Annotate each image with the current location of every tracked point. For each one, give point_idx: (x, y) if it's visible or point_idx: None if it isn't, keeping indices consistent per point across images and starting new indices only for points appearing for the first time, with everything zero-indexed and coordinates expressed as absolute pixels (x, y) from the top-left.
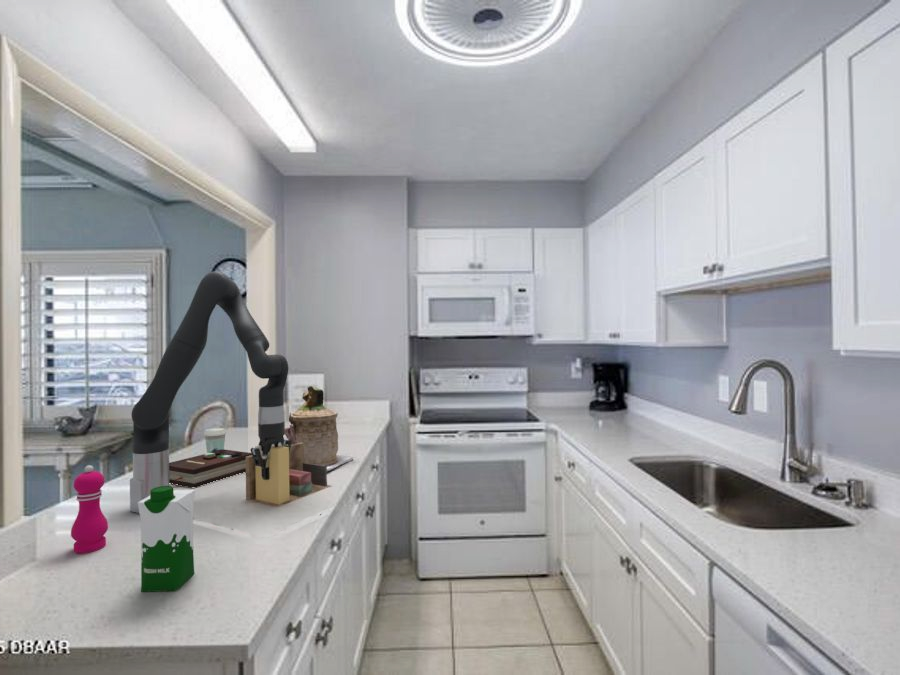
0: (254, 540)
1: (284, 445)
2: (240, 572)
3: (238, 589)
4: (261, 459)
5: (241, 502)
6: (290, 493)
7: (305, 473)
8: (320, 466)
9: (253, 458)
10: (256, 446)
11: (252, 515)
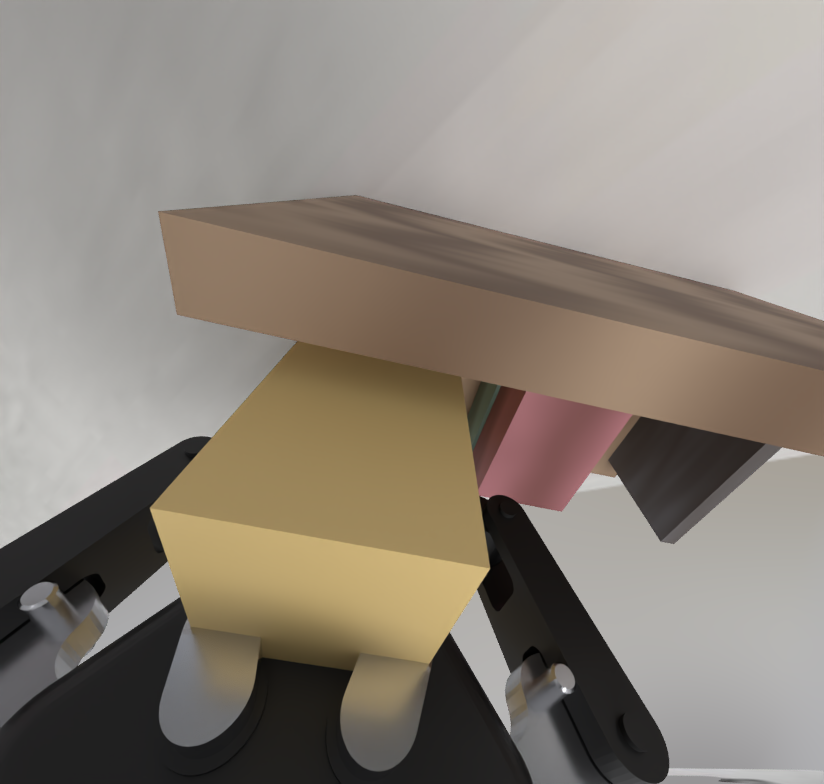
0: (138, 460)
1: (506, 696)
2: (39, 513)
3: (13, 537)
4: (160, 553)
5: (377, 127)
6: (481, 385)
7: (541, 496)
8: (680, 517)
9: (88, 503)
10: (180, 524)
11: (261, 336)
